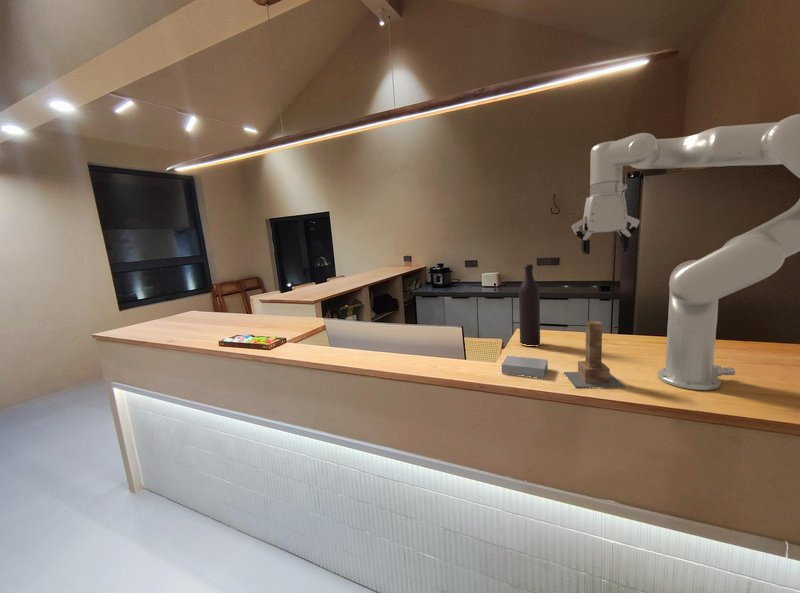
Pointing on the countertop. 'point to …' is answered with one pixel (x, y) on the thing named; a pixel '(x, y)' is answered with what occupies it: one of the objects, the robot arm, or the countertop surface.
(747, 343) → the countertop surface
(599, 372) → the tamper
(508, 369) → the tile
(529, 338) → the wine bottle
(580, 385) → the mat
